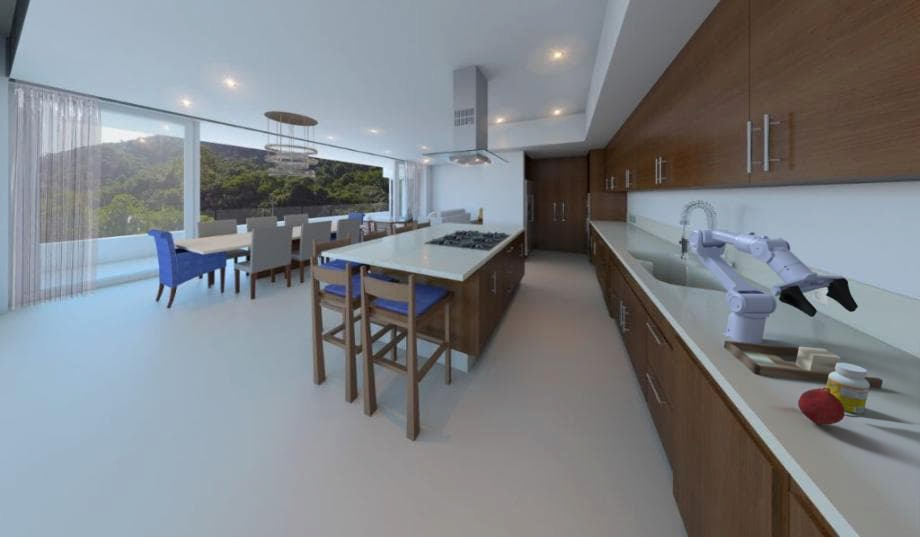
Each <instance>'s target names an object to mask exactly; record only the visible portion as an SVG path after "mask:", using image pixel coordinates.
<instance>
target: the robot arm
mask: <svg viewBox="0 0 920 537" xmlns="http://www.w3.org/2000/svg"><path fill="white" fill-rule="evenodd" d="M688 238H689V240H688V243H689V248H691V249H692V250H693V251H694V253H695V254H697V256H698V258H699V261H700V262H701V263H702V265H703V266H704V267H705V268H706V269H707V270H708V271H709V272H710V274H711V275H712V276H713V277H714V278H715V279H716V280H717V281H718V282H719V283H720V285H721V286H722V287H723V288H724V289H725V290H726V292H727V293H726V295H725V298H724V299H725V301H726V302H727V304H728V306H729V309H730V310H731V313H730V314H729V316H728V317H727V318H728V320H727V324H726V325H727V327H726V332H722V335H723V336H725V337H731V339H733V340H735V341H736V342H745V343H755V344H763V339H764V332H765V326H766V323H767V322H766V321H767V318H770V315H772V314H773V313H774V312H775V311H776V309H777V305H778V303H777V299H776V298H775V297H778V296H779V298H778V300H779V301H780V302H781V303H783V304H787V305H789V306H791V307H793V308H795V309H798V310H799V311H801V312H802V313H804V314H806V315H807V316H809V317H810V318H812V317H815V316H816V314H817V312H818V310H817V309H816V308H815V306H814V305H813V304H812V302H810V301H809V299H807V296H805V294H806V293H808V292H812V291H815V290H819V289H824V288H827V292H826V294H825V296H826V297H828V298H830V299H833V301H835V302H836V303H838V304H839V305H840V306H842V307H843V308H844V309H845V310H846V311H848V312H849V313H852V312H853V313H854V312H855V311H856V310H857V309H858V307H859V305H858V303H857V302H856V301H855V299H854V297H853V295H852V294H851V290H850V287H849V281H848V280H847V279H846V278H845V277H844V276H842V275H824V274H823V275H820V274H819V275H818V273H817V272H816V271H812V270H811V268H809V267H808V266H807V265H806V263H804V262H803V261H801V259H800V258H798V257H797V256H796V254H794V253H793V251H791V245H790V243H789V241H787V240H786V239H783V238H782V237H780V238H779V237H777V238H770V237H769V236H768V235H757V234H756V232H753V231H747V232H745V233H743V232H742V233H741V234H738V233H735V232H733V231H732V232H731V231H728V230H727V229H716V230H715V229H702V230H701V229H694V230H692V231H691V233H690V234H689V236H688ZM727 244H729V245H731V246H734V248H735V249H736V250H737V251H739V252H743V253H746V254H749V255H752V256H751V257H752V258H753V259H754V260H759V261H761V262H762V263H764V264H766V265H767V266H768V267H769V268H770V269H771V270H772V271H773V272H774V273H775V274H776V275H777V276H778V277H779V278H780V280H782V281H783V283H779V284H774V285H772V286H771V287H770V288H769V292H770V293H768V292H765V291H764V290H763V289H762V288H759V287H756V286H753V285H750V284H749V283H747V281H745V279H744V278H743V277H742V276H741V275H740V274H739V273H737V271H735V269H734V268H733V267H732V266H731V265H730V264H728V262H727V261H725V259H724V258H722V255H724V254H725V250H726V246H727Z"/></svg>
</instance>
